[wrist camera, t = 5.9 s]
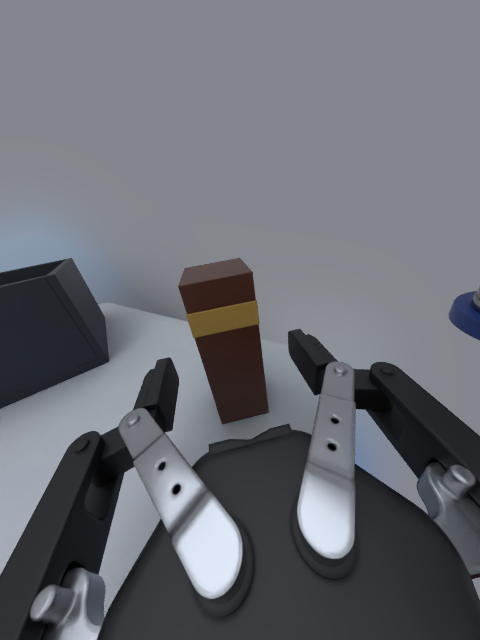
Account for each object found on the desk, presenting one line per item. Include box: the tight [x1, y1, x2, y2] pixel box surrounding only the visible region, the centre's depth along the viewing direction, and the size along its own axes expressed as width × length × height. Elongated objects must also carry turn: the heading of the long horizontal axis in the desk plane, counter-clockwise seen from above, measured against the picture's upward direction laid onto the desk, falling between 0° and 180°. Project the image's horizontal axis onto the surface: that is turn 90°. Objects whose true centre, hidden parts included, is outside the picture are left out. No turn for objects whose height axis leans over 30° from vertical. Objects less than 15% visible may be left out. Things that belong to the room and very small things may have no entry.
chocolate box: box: [178, 258, 269, 424], centre depth 15 cm, size 4×4×12 cm
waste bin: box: [0, 258, 109, 408], centre depth 26 cm, size 19×19×12 cm
